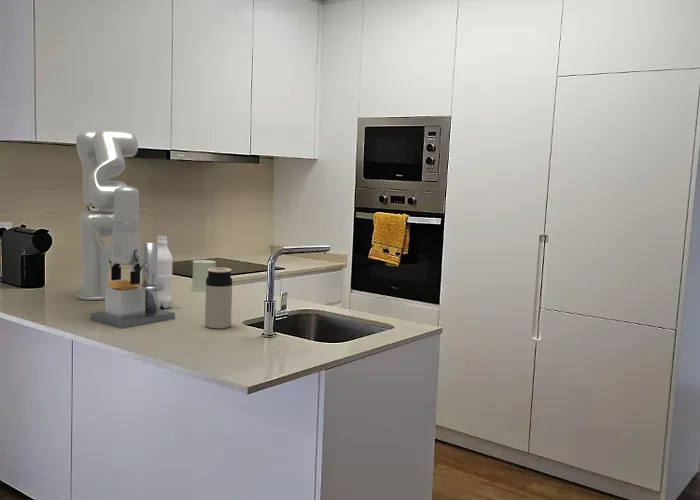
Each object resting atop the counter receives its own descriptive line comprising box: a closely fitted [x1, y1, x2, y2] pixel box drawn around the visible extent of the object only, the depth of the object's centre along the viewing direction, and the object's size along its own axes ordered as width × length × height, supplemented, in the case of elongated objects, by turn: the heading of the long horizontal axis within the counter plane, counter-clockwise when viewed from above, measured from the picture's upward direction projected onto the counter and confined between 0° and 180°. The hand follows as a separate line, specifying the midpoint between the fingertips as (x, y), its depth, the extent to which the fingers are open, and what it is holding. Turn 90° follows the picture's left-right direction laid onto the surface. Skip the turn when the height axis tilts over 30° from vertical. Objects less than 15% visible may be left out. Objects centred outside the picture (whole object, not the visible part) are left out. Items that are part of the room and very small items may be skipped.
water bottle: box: [156, 235, 173, 310], centre depth 237 cm, size 7×7×25 cm
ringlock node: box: [90, 241, 176, 329], centre depth 218 cm, size 16×20×24 cm
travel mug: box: [204, 267, 233, 330], centre depth 213 cm, size 8×8×18 cm
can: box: [191, 259, 217, 292], centre depth 276 cm, size 9×9×12 cm
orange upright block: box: [108, 279, 139, 290], centre depth 215 cm, size 4×8×10 cm, turn 143°
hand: (125, 282), depth 215 cm, fingers open, 9 cm apart
